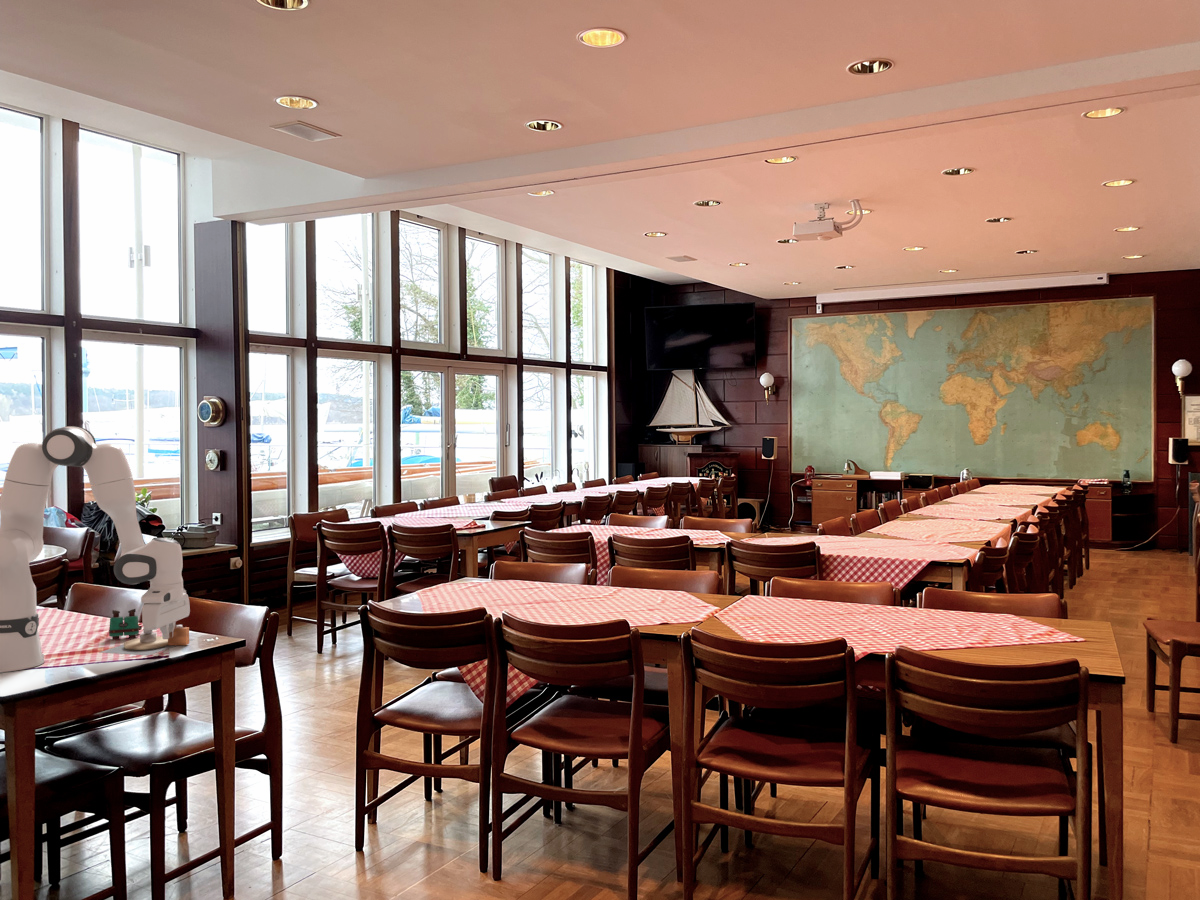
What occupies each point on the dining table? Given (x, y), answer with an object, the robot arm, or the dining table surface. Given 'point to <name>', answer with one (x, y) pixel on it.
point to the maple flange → (159, 640)
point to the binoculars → (124, 625)
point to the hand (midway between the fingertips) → (167, 638)
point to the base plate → (122, 650)
